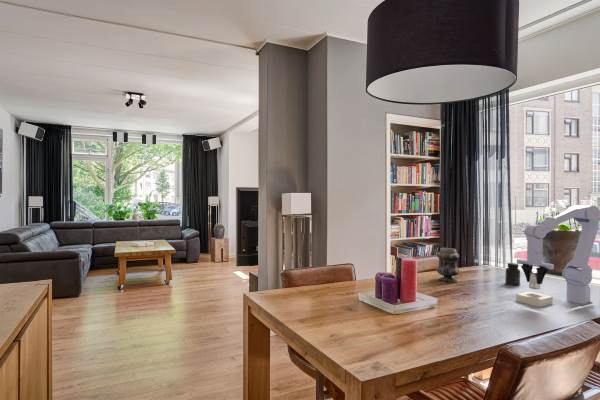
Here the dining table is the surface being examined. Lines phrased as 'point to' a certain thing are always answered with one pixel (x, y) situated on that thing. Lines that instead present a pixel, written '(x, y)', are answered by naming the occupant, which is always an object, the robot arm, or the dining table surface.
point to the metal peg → (533, 280)
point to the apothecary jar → (447, 264)
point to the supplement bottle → (512, 275)
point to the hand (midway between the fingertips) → (534, 282)
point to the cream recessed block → (533, 299)
